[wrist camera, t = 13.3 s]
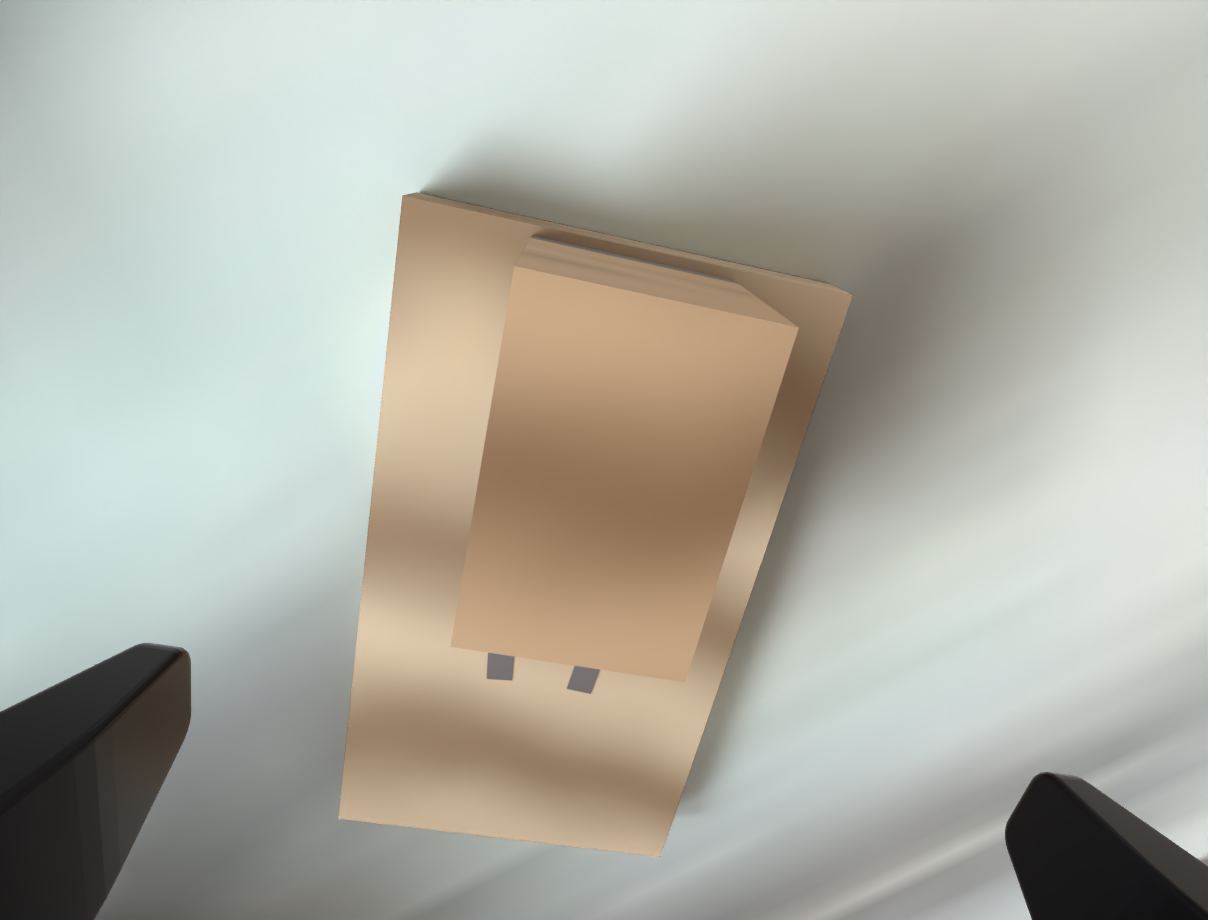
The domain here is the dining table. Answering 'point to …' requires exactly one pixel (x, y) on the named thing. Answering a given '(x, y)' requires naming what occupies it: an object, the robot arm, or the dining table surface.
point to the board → (437, 555)
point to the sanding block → (615, 459)
